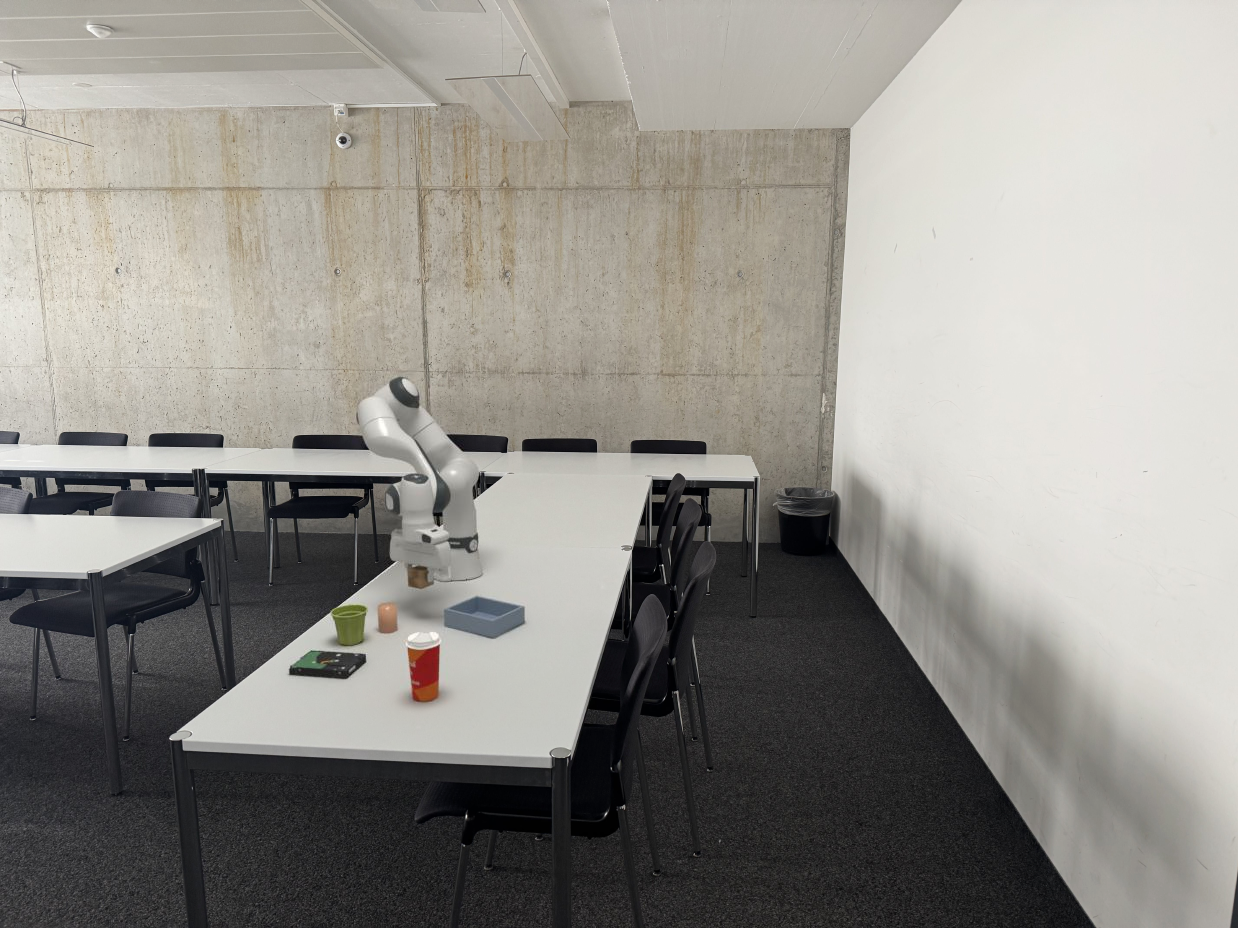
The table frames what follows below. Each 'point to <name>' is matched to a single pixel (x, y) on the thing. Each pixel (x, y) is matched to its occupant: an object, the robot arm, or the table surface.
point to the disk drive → (328, 664)
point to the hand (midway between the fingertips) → (420, 579)
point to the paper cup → (424, 665)
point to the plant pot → (349, 623)
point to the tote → (484, 616)
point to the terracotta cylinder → (387, 618)
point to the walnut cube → (418, 577)
